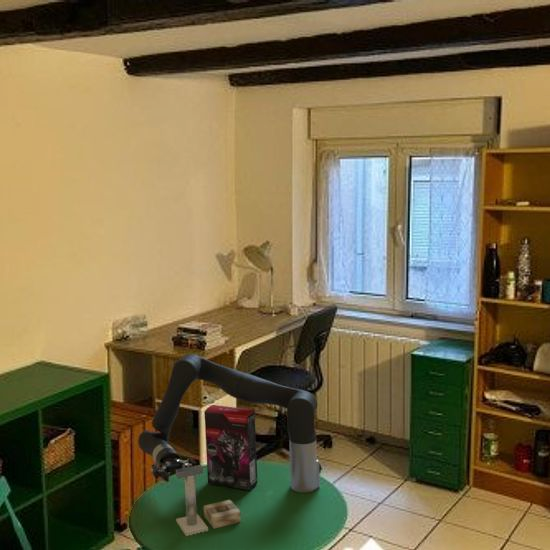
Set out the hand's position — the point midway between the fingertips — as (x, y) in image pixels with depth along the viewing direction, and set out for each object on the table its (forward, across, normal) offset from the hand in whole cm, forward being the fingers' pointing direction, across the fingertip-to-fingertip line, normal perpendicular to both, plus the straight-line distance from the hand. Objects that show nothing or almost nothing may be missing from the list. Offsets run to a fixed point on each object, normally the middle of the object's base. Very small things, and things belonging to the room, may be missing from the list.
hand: (180, 476), depth 229 cm
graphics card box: (-12, +22, +13) cm, 28 cm away
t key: (+10, 0, +12) cm, 15 cm away
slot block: (+10, +10, +12) cm, 19 cm away
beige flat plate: (+10, 0, +13) cm, 16 cm away
